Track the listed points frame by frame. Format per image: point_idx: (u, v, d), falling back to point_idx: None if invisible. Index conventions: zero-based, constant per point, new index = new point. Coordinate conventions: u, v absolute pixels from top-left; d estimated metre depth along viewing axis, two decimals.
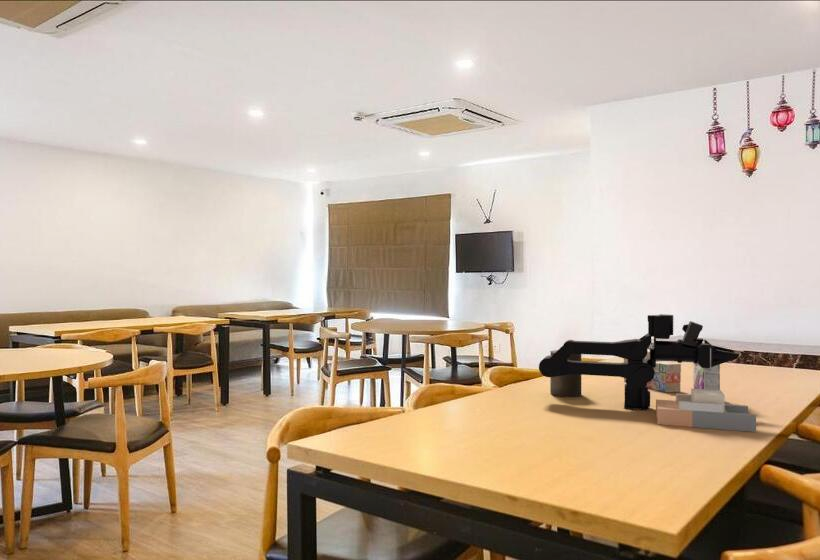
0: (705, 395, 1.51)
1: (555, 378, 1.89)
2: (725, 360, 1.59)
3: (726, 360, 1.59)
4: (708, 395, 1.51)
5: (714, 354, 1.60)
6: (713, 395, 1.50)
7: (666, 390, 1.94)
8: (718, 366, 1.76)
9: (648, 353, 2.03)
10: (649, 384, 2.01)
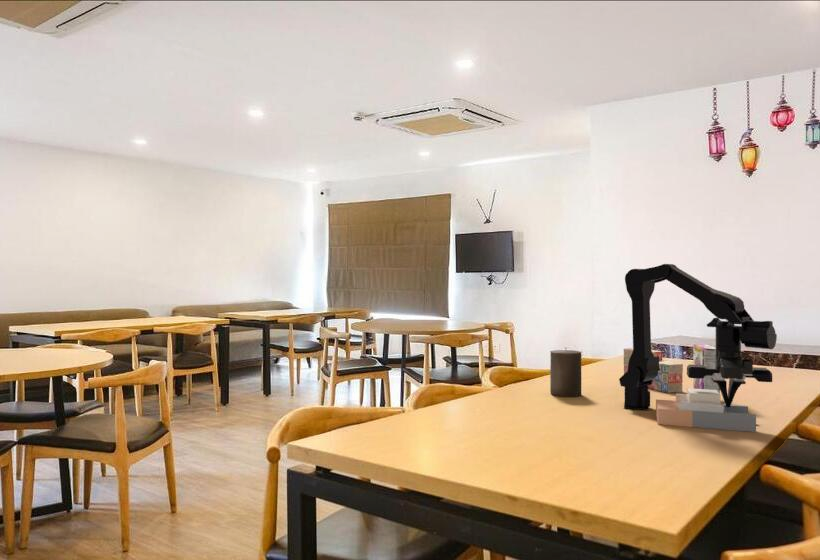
0: (701, 395, 1.51)
1: (555, 378, 1.89)
2: (721, 392, 1.54)
3: (721, 393, 1.54)
4: (704, 395, 1.51)
5: None
6: (709, 395, 1.51)
7: (668, 390, 1.93)
8: None
9: None
10: (651, 384, 2.01)
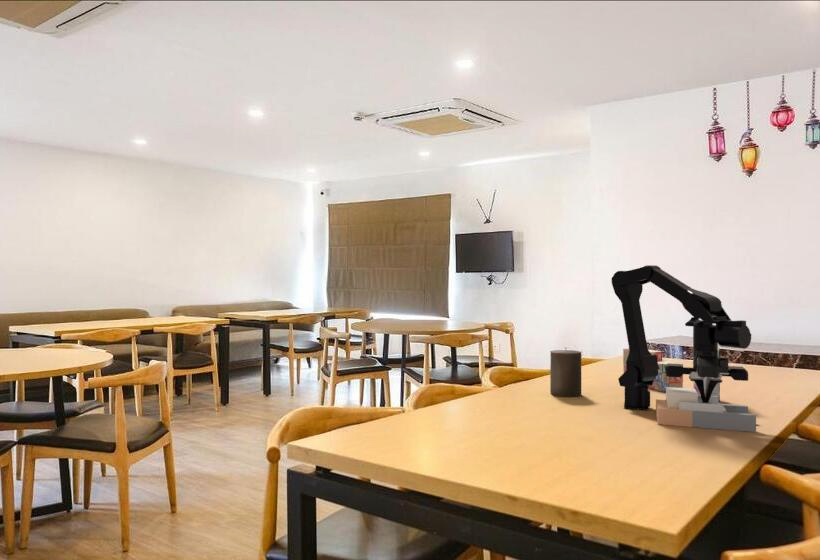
0: (679, 393, 1.53)
1: (555, 378, 1.89)
2: None
3: (699, 392, 1.56)
4: (682, 393, 1.53)
5: None
6: (686, 393, 1.52)
7: None
8: None
9: None
10: None
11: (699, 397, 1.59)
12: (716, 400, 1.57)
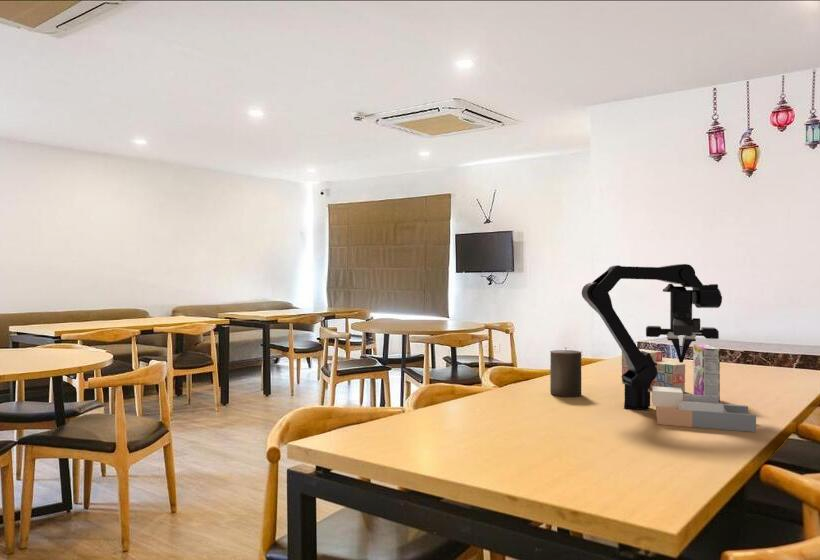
0: (664, 393, 1.54)
1: (555, 378, 1.89)
2: None
3: None
4: (667, 393, 1.54)
5: None
6: (672, 392, 1.53)
7: None
8: (718, 366, 1.76)
9: (651, 354, 2.01)
10: (653, 385, 1.99)
11: (699, 397, 1.59)
12: (716, 400, 1.57)
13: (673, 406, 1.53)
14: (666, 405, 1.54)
